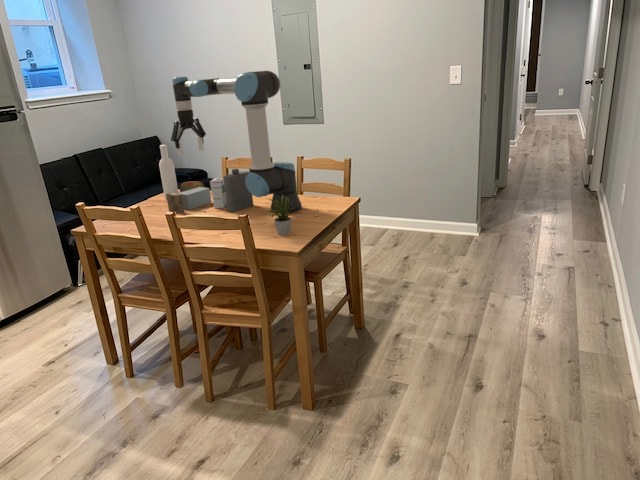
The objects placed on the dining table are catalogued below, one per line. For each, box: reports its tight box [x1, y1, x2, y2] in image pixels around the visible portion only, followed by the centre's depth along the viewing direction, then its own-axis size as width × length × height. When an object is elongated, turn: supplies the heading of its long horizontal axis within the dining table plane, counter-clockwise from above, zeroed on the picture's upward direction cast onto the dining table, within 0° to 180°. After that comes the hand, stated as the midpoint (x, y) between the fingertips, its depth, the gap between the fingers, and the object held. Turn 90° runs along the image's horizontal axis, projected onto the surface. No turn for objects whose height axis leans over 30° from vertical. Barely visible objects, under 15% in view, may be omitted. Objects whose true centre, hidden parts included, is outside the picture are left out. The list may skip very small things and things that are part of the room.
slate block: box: [177, 187, 212, 211], centre depth 265 cm, size 8×15×8 cm, turn 142°
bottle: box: [158, 144, 180, 201], centre depth 280 cm, size 8×8×30 cm
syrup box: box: [209, 177, 227, 209], centre depth 257 cm, size 6×6×14 cm
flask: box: [222, 168, 254, 213], centre depth 251 cm, size 15×6×20 cm, turn 135°
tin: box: [179, 180, 206, 193], centre depth 286 cm, size 15×3×8 cm, turn 76°
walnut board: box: [166, 193, 185, 214], centre depth 256 cm, size 10×2×9 cm, turn 53°
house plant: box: [265, 195, 296, 236], centre depth 210 cm, size 14×14×16 cm
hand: (191, 152), depth 256 cm, fingers open, 13 cm apart
